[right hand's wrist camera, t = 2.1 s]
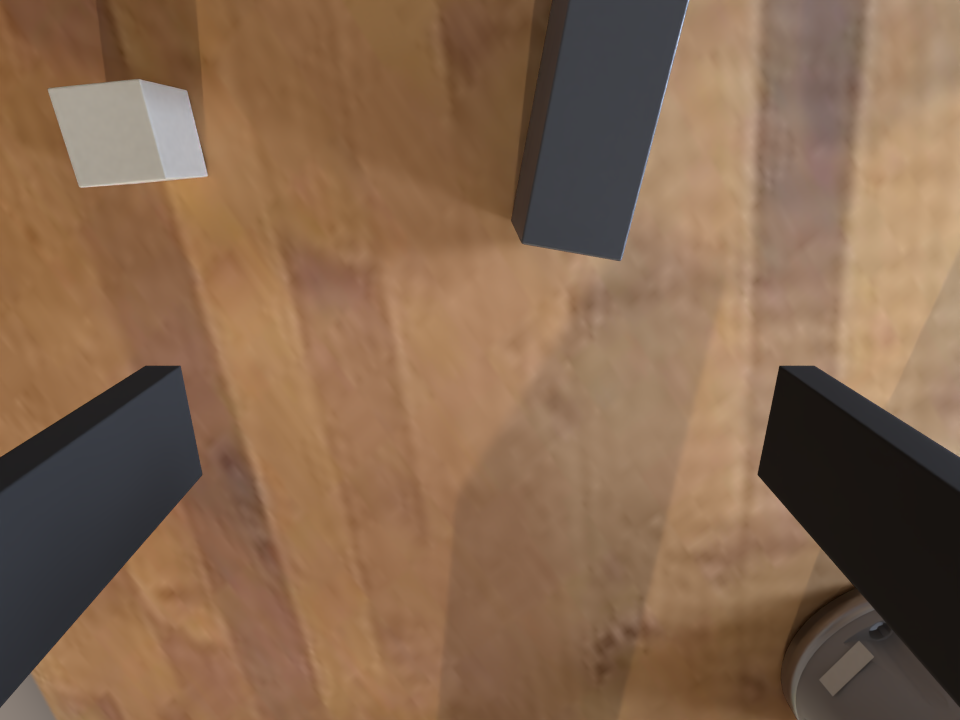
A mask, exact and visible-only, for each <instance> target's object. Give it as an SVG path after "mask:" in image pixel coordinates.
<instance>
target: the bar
mask: <svg viewBox="0 0 960 720" xmlns="http://www.w3.org/2000/svg"><path fill="white" fill-rule="evenodd" d="M688 3H689V0H552V5H551V11H550V16H549V21H548V27H547V32H546V37H545V43H544V48H543V53H542V59H541V64H540V69H539V75H538V80H537V85H536V91H535V96H534V101H533V107H532V112H531V117H530V123H529V128H528V133H527V139H526V144H525V149H524V155H523V160H522V165H521V171H520V176H519V181H518V187H517V192H516V197H515V203H514V208H513V213H512V219H511V222H512V224H513V226H514V228H515V230H516V232H517V234H518V236H519V239H520V241H521V243H522V244H526V245H531V246H537V247H543V248H548V249H554V250H560V251H565V252H571V253H577V254H582V255H588V256H594V257H600V258H605V259H611V260H617V261H621V260H622V256H623V253H624V249H625V245H626V241H627V237H628V233H629V230H630V226H631V222H632V218H633V214H634V210H635V206H636V203H637V199H638V195H639V191H640V187H641V183H642V180H643V176H644V172H645V168H646V164H647V160H648V157H649V153H650V149H651V145H652V141H653V137H654V133H655V130H656V126H657V122H658V118H659V114H660V110H661V107H662V103H663V99H664V95H665V91H666V87H667V84H668V80H669V76H670V72H671V68H672V64H673V60H674V57H675V53H676V49H677V45H678V41H679V37H680V34H681V30H682V26H683V22H684V18H685V14H686V11H687V7H688Z"/></svg>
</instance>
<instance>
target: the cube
mask: <svg viewBox="0 0 960 720" xmlns="http://www.w3.org/2000/svg"><path fill="white" fill-rule="evenodd" d="M48 92H49V95H50V98H51V102H52V105H53V108H54V111H55V114H56V117H57V120H58V123H59V126H60V129H61V133H62V136H63V139H64V142H65V145H66V148H67V151H68V154H69V157H70V160H71V164H72V167H73V170H74V173H75V176H76V179H77V182H78V185H79V187H95V186H109V185H123V184H136V183H147V182H157V181H167V180H177V179H188V178H198V177H207V176H208V174H207V170H206V166H205V162H204V158H203V153H202V149H201V145H200V141H199V137H198V133H197V129H196V125H195V121H194V117H193V113H192V109H191V104H190V100H189V96H188V92H187V90H184V89H180V88H176V87H171V86H167V85H163V84H159V83H154V82H150V81H146V80H141V79H133V80H123V81H113V82H104V83H94V84H84V85H75V86H65V87H55V88H49V89H48Z"/></svg>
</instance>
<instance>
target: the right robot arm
mask: <svg viewBox="0 0 960 720" xmlns="http://www.w3.org/2000/svg"><path fill="white" fill-rule="evenodd" d="M201 476H202V470H201V465H200V460H199V455H198V450H197V445H196V440H195V435H194V430H193V425H192V420H191V415H190V410H189V405H188V400H187V395H186V390H185V386H184V381H183V376H182V371H181V366H145V367H143V368H141V369H140V370H138V371H137V372H135V373H133V374H132V375H130V376H129V377H127V378H125V379H124V380H122V381H121V382H119V383H118V384H116V385H114V386H113V387H111V388H110V389H108V390H106V391H105V392H103V393H102V394H100V395H98V396H97V397H95V398H94V399H92V400H91V401H89V402H87V403H86V404H84V405H83V406H81V407H79V408H78V409H76V410H75V411H73V412H71V413H70V414H68V415H67V416H65V417H64V418H62V419H60V420H59V421H57V422H56V423H54V424H52V425H51V426H49V427H48V428H46V429H45V430H43V431H41V432H40V433H38V434H37V435H35V436H33V437H32V438H30V439H29V440H27V441H25V442H24V443H22V444H21V445H19V446H18V447H16V448H14V449H13V450H11V451H10V452H8V453H6V454H5V455H3V456H2V457H0V707H1V706H2V705H3V704H4V703H5V702H6V700H7V699H8V698H9V697H10V696H11V695H12V693H13V692H14V691H15V690H16V689H17V688H18V687H19V685H20V684H21V683H22V682H23V681H24V680H25V679H26V677H27V676H28V675H29V674H30V673H31V672H32V670H33V669H34V668H35V667H36V666H37V665H38V664H39V662H40V661H41V660H42V659H43V658H44V657H45V655H46V654H47V653H48V652H49V651H50V650H51V649H52V647H53V646H54V645H55V644H56V643H57V642H58V641H59V639H60V638H61V637H62V636H63V635H64V634H65V632H66V631H67V630H68V629H69V628H70V627H71V626H72V624H73V623H74V622H75V621H76V620H77V619H78V617H79V616H80V615H81V614H82V613H83V612H84V611H85V609H86V608H87V607H88V606H89V605H90V604H91V603H92V601H93V600H94V599H95V598H96V597H97V596H98V594H99V593H100V592H101V591H102V590H103V589H104V588H105V586H106V585H107V584H108V583H109V582H110V581H111V579H112V578H113V577H114V576H115V575H116V574H117V573H118V571H119V570H120V569H121V568H122V567H123V566H124V565H125V563H126V562H127V561H128V560H129V559H130V558H131V556H132V555H133V554H134V553H135V552H136V551H137V550H138V548H139V547H140V546H141V545H142V544H143V543H144V541H145V540H146V539H147V538H148V537H149V536H150V535H151V533H152V532H153V531H154V530H155V529H156V528H157V527H158V525H159V524H160V523H161V522H162V521H163V520H164V518H165V517H166V516H167V515H168V514H169V513H170V512H171V510H172V509H173V508H174V507H175V506H176V505H177V503H178V502H179V501H180V500H181V499H182V498H183V497H184V495H185V494H186V493H187V492H188V491H189V490H190V489H191V487H192V486H193V485H194V484H195V483H196V482H197V480H198V479H199V478H200V477H201ZM758 476H759V477H760V478H761V479H762V480H763V482H764V483H765V484H766V485H767V486H768V487H769V489H770V490H771V491H772V492H773V493H774V494H775V495H776V497H777V498H778V499H779V500H780V501H781V502H782V503H783V505H784V506H785V507H786V508H787V509H788V510H789V512H790V513H791V514H792V515H793V516H794V517H795V518H796V520H797V521H798V522H799V523H800V524H801V525H802V527H803V528H804V529H805V530H806V531H807V532H808V533H809V535H810V536H811V537H812V538H813V539H814V540H815V541H816V543H817V544H818V545H819V546H820V547H821V548H822V550H823V551H824V552H825V553H826V554H827V555H828V556H829V558H830V559H831V560H832V561H833V562H834V563H835V565H836V566H837V567H838V568H839V569H840V570H841V571H842V573H843V574H844V575H845V576H846V577H847V578H848V579H849V581H850V582H851V583H852V584H853V585H854V586H855V588H856V589H853V590H851V591H849V592H847V593H845V594H843V595H841V596H839V597H838V598H836V599H834V600H833V601H831V602H830V603H828V604H827V605H825V606H824V607H823V608H821V609H820V610H819V611H818V612H816V613H815V614H814V615H813V616H812V617H811V618H810V619H809V620H808V621H807V622H806V623H805V624H804V625H803V626H802V627H801V629H800V630H799V631H798V632H797V634H796V635H795V637H794V638H793V640H792V641H791V643H790V645H789V647H788V649H787V651H786V654H785V656H784V660H783V663H782V670H781V684H782V689H783V693H784V696H785V698H786V700H787V702H788V704H789V706H790V708H791V709H792V711H793V713H794V715H795V717H796V718H797V720H960V457H958V456H957V455H955V454H954V453H952V452H950V451H949V450H947V449H946V448H944V447H942V446H941V445H939V444H938V443H936V442H935V441H933V440H931V439H930V438H928V437H927V436H925V435H923V434H922V433H920V432H919V431H917V430H915V429H914V428H912V427H911V426H909V425H908V424H906V423H904V422H903V421H901V420H900V419H898V418H896V417H895V416H893V415H892V414H890V413H889V412H887V411H885V410H884V409H882V408H881V407H879V406H877V405H876V404H874V403H873V402H871V401H869V400H868V399H866V398H865V397H863V396H862V395H860V394H858V393H857V392H855V391H854V390H852V389H850V388H849V387H847V386H846V385H844V384H842V383H841V382H839V381H838V380H836V379H835V378H833V377H831V376H830V375H828V374H827V373H825V372H823V371H822V370H820V369H819V368H817V367H815V366H779V371H778V376H777V381H776V386H775V390H774V395H773V400H772V405H771V410H770V415H769V420H768V425H767V430H766V435H765V440H764V445H763V450H762V455H761V460H760V465H759V470H758Z"/></svg>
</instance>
